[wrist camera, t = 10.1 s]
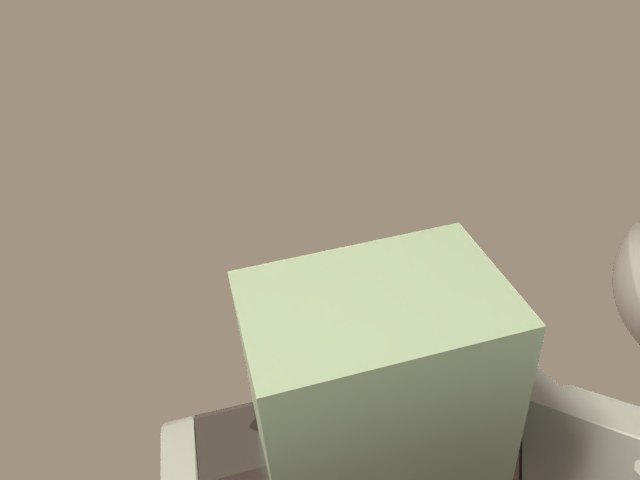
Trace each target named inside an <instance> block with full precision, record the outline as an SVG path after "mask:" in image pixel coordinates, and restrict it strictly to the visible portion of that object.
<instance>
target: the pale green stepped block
mask: <svg viewBox="0 0 640 480" xmlns="http://www.w3.org/2000/svg"><path fill="white" fill-rule="evenodd" d="M228 276H229V282H230V287H231V292H232V298H233V303H234V307H235V312H236V318H237V323H238V327H239V333H240V338H241V343H242V349H243V353H244V358H245V364H246V369H247V374H248V379H249V384H250V389H251V394H252V399H253V405H254V410H255V415H256V420H257V425H258V430H259V434H260V438H261V443H262V447H263V452H264V456H265V460H266V465H267V470H268V475H269V480H513V476H514V472H515V467H516V463H517V458H518V453H519V449H520V444H521V440H522V435H523V430H524V426H525V421H526V417H527V412H528V407H529V403H530V398H531V394H532V389H533V384H534V380H535V375H536V371H537V366H538V361H539V357H540V352H541V347H542V343H543V338H544V334H545V329H546V325H545V324H544V323H543V322H542V321H541V319H540V318H539V317H538V316H537V315H536V314H535V312H534V311H533V310H532V309H531V308H530V306H529V305H528V304H527V303H526V302H525V300H524V299H523V298H522V297H521V296H520V294H519V293H518V292H517V291H516V290H515V289H514V287H513V286H512V285H511V284H510V283H509V282H508V280H507V279H506V278H505V277H504V276H503V274H502V273H501V272H500V271H499V270H498V269H497V267H496V266H495V265H494V264H493V263H492V261H491V260H490V259H489V258H488V257H487V255H485V253H484V252H483V251H482V250H481V248H480V247H479V246H478V245H477V244H476V243H475V241H474V240H473V239H472V238H471V237H470V236H469V234H468V233H467V232H466V231H465V230H464V228H463V227H462V226H461V225H460V224H459V223H456V224H451V225H446V226H441V227H437V228H432V229H427V230H422V231H417V232H413V233H408V234H403V235H399V236H394V237H389V238H384V239H379V240H375V241H370V242H366V243H361V244H356V245H351V246H346V247H342V248H337V249H333V250H327V251H323V252H318V253H314V254H309V255H304V256H299V257H294V258H290V259H285V260H280V261H275V262H271V263H266V264H261V265H256V266H252V267H247V268H242V269H237V270H233V271H228Z"/></svg>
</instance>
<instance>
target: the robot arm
mask: <svg viewBox="0 0 640 480" xmlns="http://www.w3.org/2000/svg"><path fill="white" fill-rule="evenodd" d="M612 278H613V279H612V284H613V293H614V299H615V303H616V306H617V309H618V312H619V314H620V316H621V319H622V321H623V323H624V324H625V326H626V327H627V329H628V330H629V332H630V334H631V335H632V336H633V337H634V339H635V340H636V341H637V342H638V343H639V345H640V222H639V223H636V224H634V225H633V226H632V227H631V228H630V229H629V231H628V232H627V234H626V235H625V237H624V238H623V240H622V242H621V244H620V246H619V249H618V252H617V255H616V258H615V262H614V266H613V277H612ZM160 480H269V475H268V470H267V465H266V460H265V456H264V452H263V447H262V443H261V438H260V434H259V430H258V425H257V420H256V415H255V410H254V405H253V402H251V403H247V404H242V405H238V406H234V407H229V408H225V409H221V410H216V411H212V412H208V413H203V414H199V415H195V417H193V416H191V417H187V418H183V419H179V420H175V421H171V422H167V423H163V426H162V428H161V479H160ZM513 480H640V407H639V406H636V405H632V404H629V403H626V402H623V401H620V400H616V399H613V398H610V397H607V396H604V395H600V394H597V393H594V392H591V391H588V390H584V389H581V388H578V387H575V386H571V385H564V386H561V387H560V386H559V385H558V384H557V383H556V382H555V381H554V380H553V379H552V378H551V377H550V376H548V375H547V374H546V373H545V372H544V371H543V370H542V369H541V368H540V367H539V366H537V371H536V375H535V380H534V384H533V389H532V394H531V398H530V403H529V407H528V412H527V417H526V421H525V426H524V430H523V435H522V440H521V444H520V449H519V453H518V458H517V463H516V467H515V472H514V476H513Z"/></svg>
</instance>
